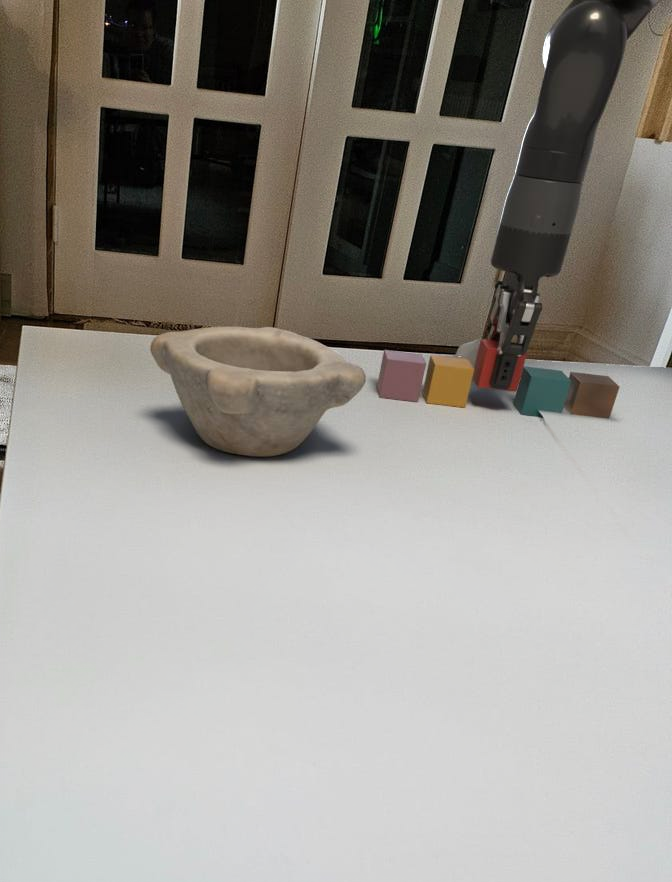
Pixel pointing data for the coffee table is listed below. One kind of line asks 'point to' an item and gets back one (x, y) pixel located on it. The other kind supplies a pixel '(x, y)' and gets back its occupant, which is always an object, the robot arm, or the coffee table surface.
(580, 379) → the block
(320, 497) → the coffee table surface
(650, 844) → the coffee table surface
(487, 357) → the red block
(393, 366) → the block
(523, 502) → the coffee table surface
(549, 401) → the block
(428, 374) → the block
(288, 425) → the mortar
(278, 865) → the coffee table surface
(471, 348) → the pale two-lobed sculpture
